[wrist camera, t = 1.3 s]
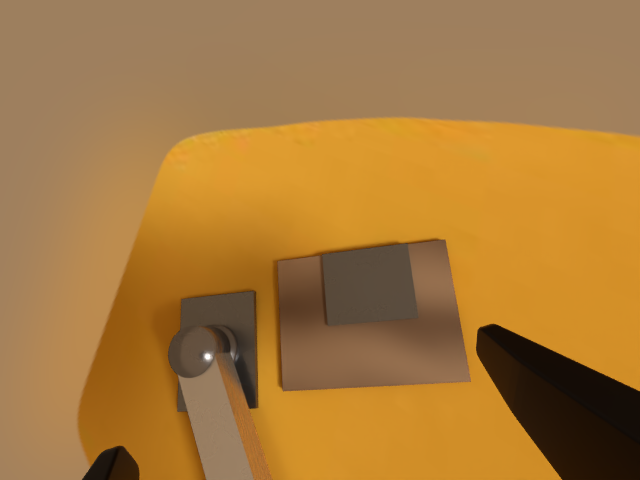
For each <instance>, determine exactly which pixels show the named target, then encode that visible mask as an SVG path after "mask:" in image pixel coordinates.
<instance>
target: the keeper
mask: <svg viewBox="0 0 640 480" xmlns="http://www.w3.org/2000/svg"><path fill="white" fill-rule="evenodd" d="M322 258H323V271H324V284H325V297H326V309H327V322H328V326H334V325H345V324H356V323H368V322H379V321H390V320H402V319H413V318H419V317H418V310H417V303H416V297H415V290H414V283H413V277H412V270H411V263H410V256H409V250H408V243H406V244H398V245H390V246H383V247H375V248H367V249H360V250H352V251H344V252H337V253H329V254H322Z"/></svg>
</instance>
